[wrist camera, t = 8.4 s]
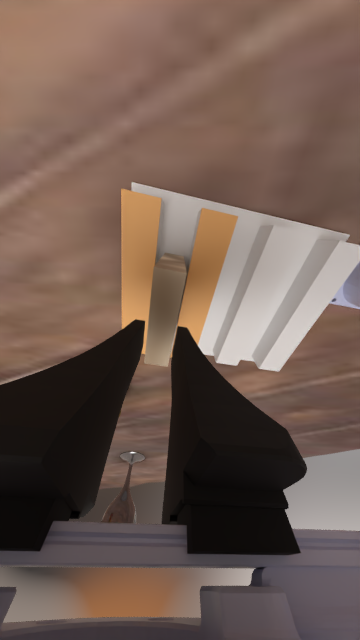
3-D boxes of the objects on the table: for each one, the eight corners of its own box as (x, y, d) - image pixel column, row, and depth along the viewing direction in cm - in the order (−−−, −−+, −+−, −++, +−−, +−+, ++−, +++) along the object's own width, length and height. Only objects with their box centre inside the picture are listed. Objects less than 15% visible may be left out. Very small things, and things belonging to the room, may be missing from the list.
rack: (344, 234, 16) (381, 235, 13) (264, 360, 24) (276, 377, 21) (133, 183, 14) (121, 170, 11) (129, 340, 22) (121, 356, 19)
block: (183, 256, 16) (186, 273, 9) (171, 320, 20) (167, 366, 13) (165, 252, 16) (153, 266, 9) (156, 317, 20) (144, 363, 13)
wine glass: (142, 464, 45) (128, 556, 32) (116, 460, 44) (89, 555, 31) (149, 453, 42) (136, 553, 29) (121, 449, 40) (93, 551, 27)
